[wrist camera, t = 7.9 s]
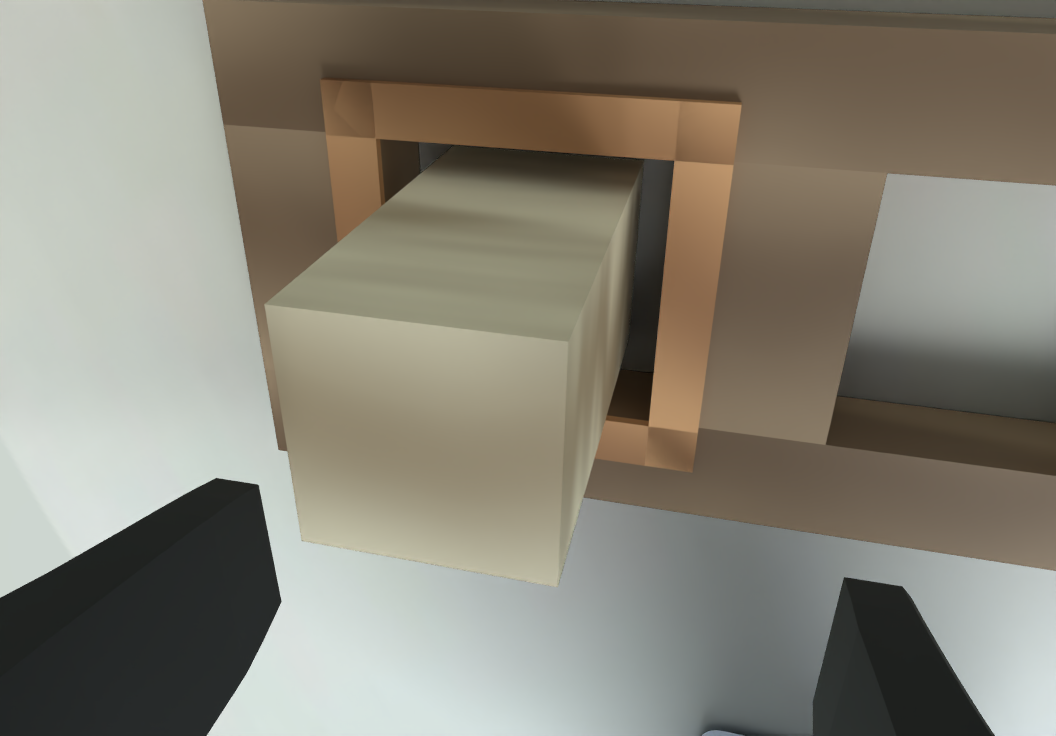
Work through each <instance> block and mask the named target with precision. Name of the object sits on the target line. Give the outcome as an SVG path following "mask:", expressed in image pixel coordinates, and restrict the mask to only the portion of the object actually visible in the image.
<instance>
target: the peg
mask: <svg viewBox="0 0 1056 736" xmlns="http://www.w3.org/2000/svg"><path fill="white" fill-rule="evenodd" d="M643 166H644V161H642V160H629V159H617V158H604V157H591V156H579V155H566V154H553V153H541V152H528V151H515V150H503V149H490V148H477V147H465V146H453V147H451V148H450V149H449V150H448V151H447V152H446V153H444V154H443V155H442V156H441V157H440V158H438V159H437V160H436V161H435V162H434V163H432V164H431V165H430V166H429V167H428V168H426V169H425V170H424V171H423V172H422V173H420V174H419V175H418V176H417V177H416V178H415V179H413V180H412V181H411V182H410V183H409V184H407V185H406V186H405V187H404V188H403V189H401V190H400V191H399V192H398V193H397V194H395V195H394V196H393V197H392V198H391V199H389V200H388V201H387V202H386V203H385V204H384V205H382V206H381V207H380V208H379V209H378V210H376V211H375V212H374V213H373V214H372V215H370V216H369V217H368V218H367V219H366V220H364V221H363V222H362V223H361V224H360V225H358V226H357V227H356V228H355V229H354V230H353V231H351V232H350V233H349V234H348V235H347V236H345V237H344V238H343V239H342V240H341V241H339V242H338V243H337V244H336V245H335V246H333V247H332V248H331V249H330V250H329V251H327V252H326V253H325V254H324V255H323V256H322V257H320V258H319V259H318V260H317V261H316V262H314V263H313V264H312V265H311V266H310V267H308V268H307V269H306V270H305V271H304V272H302V273H301V274H300V275H299V276H298V277H296V278H295V279H294V280H293V281H292V282H291V283H289V284H288V285H287V286H286V287H285V288H283V289H282V290H281V291H280V292H279V293H277V294H276V295H275V296H274V297H273V298H271V299H270V300H269V301H268V302H267V303H265V304H264V305H265V311H266V318H267V324H268V330H269V337H270V343H271V349H272V356H273V362H274V368H275V375H276V381H277V387H278V394H279V400H280V407H281V413H282V419H283V426H284V432H285V438H286V445H287V451H288V457H289V464H290V470H291V476H292V483H293V489H294V495H295V502H296V508H297V514H298V521H299V527H300V533H301V540H302V541H305V542H311V543H316V544H322V545H327V546H333V547H338V548H344V549H349V550H355V551H360V552H366V553H371V554H377V555H382V556H388V557H393V558H399V559H404V560H410V561H415V562H421V563H426V564H432V565H437V566H443V567H448V568H454V569H459V570H465V571H470V572H476V573H481V574H487V575H492V576H498V577H504V578H509V579H515V580H520V581H526V582H531V583H537V584H542V585H548V586H553V587H558V585H559V581H560V578H561V574H562V571H563V567H564V564H565V560H566V556H567V553H568V549H569V546H570V542H571V539H572V535H573V532H574V528H575V525H576V521H577V518H578V514H579V511H580V507H581V504H582V500H583V497H584V493H585V490H586V486H587V483H588V479H589V476H590V472H591V469H592V465H593V462H594V458H595V455H596V451H597V448H598V444H599V441H600V437H601V434H602V430H603V427H604V423H605V420H606V416H607V413H608V409H609V406H610V402H611V399H612V395H613V392H614V388H615V385H616V381H617V378H618V374H619V371H620V367H621V364H622V360H623V357H624V353H625V350H626V346H627V343H628V339H629V332H630V320H631V308H632V297H633V285H634V273H635V261H636V249H637V237H638V225H639V214H640V202H641V190H642V178H643Z"/></svg>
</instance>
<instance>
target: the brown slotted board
mask: <svg viewBox="0 0 1056 736" xmlns="http://www.w3.org/2000/svg"><path fill="white" fill-rule="evenodd" d="M203 6H204V12H205V18H206V24H207V30H208V35H209V41H210V47H211V53H212V59H213V65H214V71H215V77H216V83H217V89H218V95H219V101H220V106H221V112H222V118H223V124H224V130H225V136H226V142H227V148H228V154H229V160H230V166H231V171H232V177H233V183H234V189H235V195H236V201H237V207H238V213H239V219H240V225H241V231H242V236H243V242H244V248H245V254H246V260H247V266H248V272H249V278H250V284H251V290H252V296H253V302H254V307H255V313H256V319H257V325H258V331H259V337H260V343H261V349H262V355H263V361H264V367H265V372H266V378H267V384H268V390H269V396H270V402H271V408H272V414H273V420H274V426H275V432H276V438H277V443H278V449H279V450H282V451H287V445H286V438H285V432H284V426H283V419H282V413H281V407H280V400H279V394H278V387H277V381H276V375H275V368H274V362H273V356H272V349H271V343H270V337H269V330H268V324H267V318H266V311H265V305H264V304H265V303H267V302H268V301H269V300H270V299H271V298H273V297H274V296H275V295H276V294H277V293H279V292H280V291H281V290H282V289H283V288H285V287H286V286H287V285H288V284H289V283H291V282H292V281H293V280H294V279H295V278H296V277H298V276H299V275H300V274H301V273H302V272H304V271H305V270H306V269H307V268H308V267H310V266H311V265H312V264H313V263H314V262H316V261H317V260H318V259H319V258H320V257H322V256H323V255H324V254H325V253H326V252H327V251H329V250H330V249H331V248H332V247H333V246H335V245H336V244H337V243H338V242H339V241H341V240H342V239H343V238H344V237H345V236H347V235H348V234H349V233H350V232H351V231H353V230H354V229H355V228H356V227H357V226H358V225H360V224H361V223H362V222H363V221H364V220H366V219H367V218H368V217H369V216H370V215H372V214H373V213H374V212H375V211H376V210H378V209H379V208H380V207H381V206H382V205H384V204H385V203H386V202H387V201H388V200H389V199H391V198H392V197H393V196H394V195H395V194H397V193H398V192H399V191H400V190H401V189H403V188H404V187H405V186H406V185H407V184H409V183H410V182H411V181H412V180H413V179H415V178H416V177H417V176H418V175H419V174H420V166H419V148H418V142H427V143H441V144H454V145H468V146H481V147H495V148H508V149H522V150H535V151H549V152H562V153H576V154H590V155H603V156H617V157H630V158H644V159H657V160H671V161H674V171H673V181H672V191H671V201H670V212H669V222H668V232H667V242H666V252H665V263H664V273H663V283H662V293H661V304H660V314H659V324H658V334H657V345H656V355H655V365H654V373H646V372H638V371H630V370H622V369H620V371H619V374H618V378H617V381H616V385H615V388H614V392H613V395H612V399H611V402H610V406H609V409H608V413H607V416H606V420H605V423H604V427H603V430H602V434H601V437H600V441H599V444H598V448H597V451H596V455H595V458H594V462H593V465H592V469H591V472H590V476H589V479H588V483H587V486H586V490H585V493H584V498H591V499H597V500H604V501H610V502H616V503H623V504H629V505H636V506H642V507H649V508H655V509H661V510H668V511H674V512H681V513H687V514H694V515H700V516H706V517H713V518H719V519H726V520H732V521H739V522H745V523H751V524H758V525H764V526H771V527H777V528H784V529H790V530H796V531H803V532H809V533H816V534H822V535H829V536H835V537H841V538H848V539H854V540H861V541H867V542H874V543H880V544H887V545H893V546H899V547H906V548H912V549H919V550H925V551H932V552H938V553H944V554H951V555H957V556H964V557H970V558H977V559H983V560H989V561H996V562H1002V563H1009V564H1015V565H1022V566H1028V567H1034V568H1041V569H1047V570H1054V571H1056V423H1050V422H1042V421H1034V420H1026V419H1018V418H1009V417H1001V416H993V415H985V414H977V413H969V412H961V411H953V410H945V409H937V408H929V407H921V406H913V405H905V404H897V403H888V402H880V401H872V400H864V399H856V398H848V397H840V396H837V392H838V388H839V384H840V379H841V375H842V370H843V366H844V362H845V357H846V353H847V348H848V344H849V340H850V335H851V331H852V326H853V322H854V318H855V313H856V309H857V304H858V300H859V296H860V291H861V287H862V282H863V278H864V274H865V269H866V265H867V260H868V256H869V252H870V247H871V243H872V238H873V234H874V230H875V225H876V221H877V216H878V212H879V208H880V203H881V199H882V194H883V190H884V186H885V181H886V177H887V173H892V174H905V175H919V176H933V177H946V178H960V179H974V180H988V181H1001V182H1015V183H1029V184H1042V185H1056V18H1031V17H1005V16H978V15H951V14H924V13H898V12H871V11H844V10H818V9H791V8H764V7H738V6H711V5H684V4H658V3H631V2H604V1H577V0H203Z"/></svg>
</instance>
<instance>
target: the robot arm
mask: <svg viewBox="0 0 1056 736" xmlns="http://www.w3.org/2000/svg"><path fill="white" fill-rule="evenodd" d="M280 604H281V597H280V592H279V587H278V582H277V577H276V572H275V567H274V562H273V557H272V551H271V546H270V541H269V536H268V531H267V526H266V521H265V516H264V511H263V506H262V500H261V495H260V490H259V485H257V484H250V483H244V482H238V481H231V480H225V479H219V478H216V479H214V480H212V481H210V482H208V483H206V484H204V485H202V486H200V487H198V488H196V489H194V490H192V491H190V492H189V493H187V494H185V495H183V496H181V497H179V498H178V499H176V500H174V501H172V502H171V503H169V504H167V505H165V506H164V507H162V508H160V509H158V510H157V511H155V512H153V513H151V514H150V515H148V516H146V517H144V518H143V519H141V520H139V521H137V522H136V523H134V524H132V525H131V526H129V527H127V528H125V529H124V530H122V531H120V532H119V533H117V534H115V535H113V536H112V537H110V538H108V539H106V540H104V541H103V542H101V543H99V544H97V545H96V546H94V547H92V548H90V549H89V550H87V551H85V552H83V553H82V554H80V555H78V556H76V557H75V558H73V559H71V560H69V561H68V562H66V563H64V564H62V565H61V566H59V567H57V568H55V569H54V570H52V571H50V572H48V573H47V574H45V575H43V576H41V577H39V578H37V579H35V580H34V581H31V582H29V583H28V584H26V585H24V586H22V587H20V588H18V589H16V590H14V591H12V592H11V593H9V594H7V595H5V596H3V597H1V598H0V736H207V734H208V733H209V731H210V730H211V728H212V726H213V725H214V723H215V722H216V720H217V719H218V717H219V716H220V714H221V713H222V711H223V709H224V708H225V706H226V705H227V703H228V702H229V700H230V699H231V697H232V696H233V694H234V693H235V691H236V689H237V688H238V686H239V685H240V683H241V681H242V680H243V678H244V677H245V675H246V673H247V672H248V670H249V668H250V666H251V664H252V662H253V660H254V658H255V656H256V654H257V652H258V650H259V648H260V646H261V644H262V642H263V640H264V638H265V636H266V634H267V632H268V629H269V627H270V625H271V623H272V621H273V619H274V617H275V614H276V612H277V610H278V608H279V606H280ZM702 736H744V735H739V734H735V733H730V732H725V731H720V730H712V731H708V732H706V733H704V734H703V735H702ZM813 736H995V735H994V734H993V732H992V731H991V729H990V728H989V726H988V725H987V723H986V722H985V720H984V719H983V717H982V715H981V714H980V712H979V711H978V709H977V708H976V706H975V704H974V703H973V701H972V700H971V698H970V697H969V695H968V693H967V692H966V690H965V689H964V687H963V685H962V684H961V682H960V680H959V679H958V677H957V675H956V674H955V672H954V671H953V669H952V667H951V666H950V664H949V662H948V661H947V659H946V657H945V656H944V654H943V652H942V651H941V649H940V647H939V646H938V644H937V642H936V640H935V639H934V637H933V635H932V634H931V632H930V630H929V628H928V627H927V625H926V623H925V621H924V620H923V618H922V616H921V614H920V613H919V611H918V609H917V607H916V606H915V604H914V602H913V600H912V598H911V597H910V595H909V594H908V593H907V592H906V590H905V589H904V588H903V587H902V586H896V585H889V584H883V583H877V582H870V581H864V580H858V579H851V578H845V577H844V580H843V584H842V588H841V592H840V596H839V600H838V604H837V608H836V612H835V616H834V620H833V624H832V628H831V632H830V636H829V640H828V644H827V648H826V652H825V656H824V660H823V664H822V668H821V672H820V676H819V680H818V684H817V688H816V692H815V696H814V700H813Z"/></svg>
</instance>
